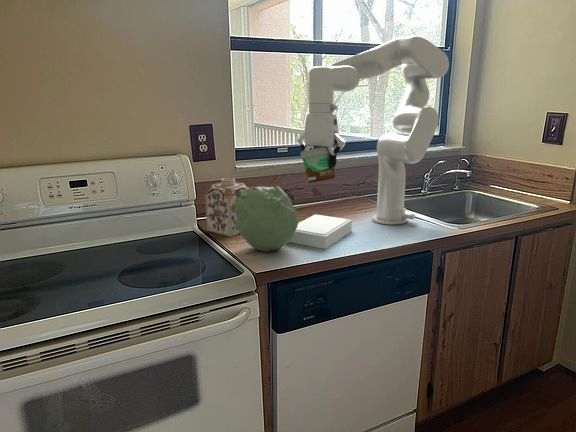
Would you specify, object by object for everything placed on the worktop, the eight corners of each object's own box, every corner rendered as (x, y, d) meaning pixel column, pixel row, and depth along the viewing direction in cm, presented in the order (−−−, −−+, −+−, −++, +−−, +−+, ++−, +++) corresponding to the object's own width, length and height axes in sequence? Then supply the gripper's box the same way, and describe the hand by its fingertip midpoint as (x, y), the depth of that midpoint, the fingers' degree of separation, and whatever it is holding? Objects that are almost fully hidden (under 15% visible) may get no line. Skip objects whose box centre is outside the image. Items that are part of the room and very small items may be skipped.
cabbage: (305, 254, 133) (305, 188, 127) (241, 262, 128) (239, 193, 122) (289, 238, 147) (289, 178, 142) (232, 244, 142) (229, 182, 137)
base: (351, 231, 154) (351, 219, 153) (325, 248, 138) (325, 235, 137) (314, 225, 161) (315, 213, 160) (286, 241, 145) (285, 228, 143)
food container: (317, 182, 137) (311, 149, 136) (305, 183, 142) (299, 152, 141) (347, 175, 143) (341, 144, 142) (334, 177, 149) (329, 146, 147)
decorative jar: (206, 231, 156) (203, 179, 151) (229, 223, 165) (227, 174, 160) (231, 237, 149) (228, 184, 144) (254, 228, 158) (253, 178, 153)
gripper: (352, 108, 137) (350, 166, 142) (302, 108, 145) (302, 162, 150) (342, 110, 131) (341, 170, 136) (290, 109, 139) (290, 166, 144)
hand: (320, 166), depth 143 cm, fingers closed on food container, 7 cm apart
